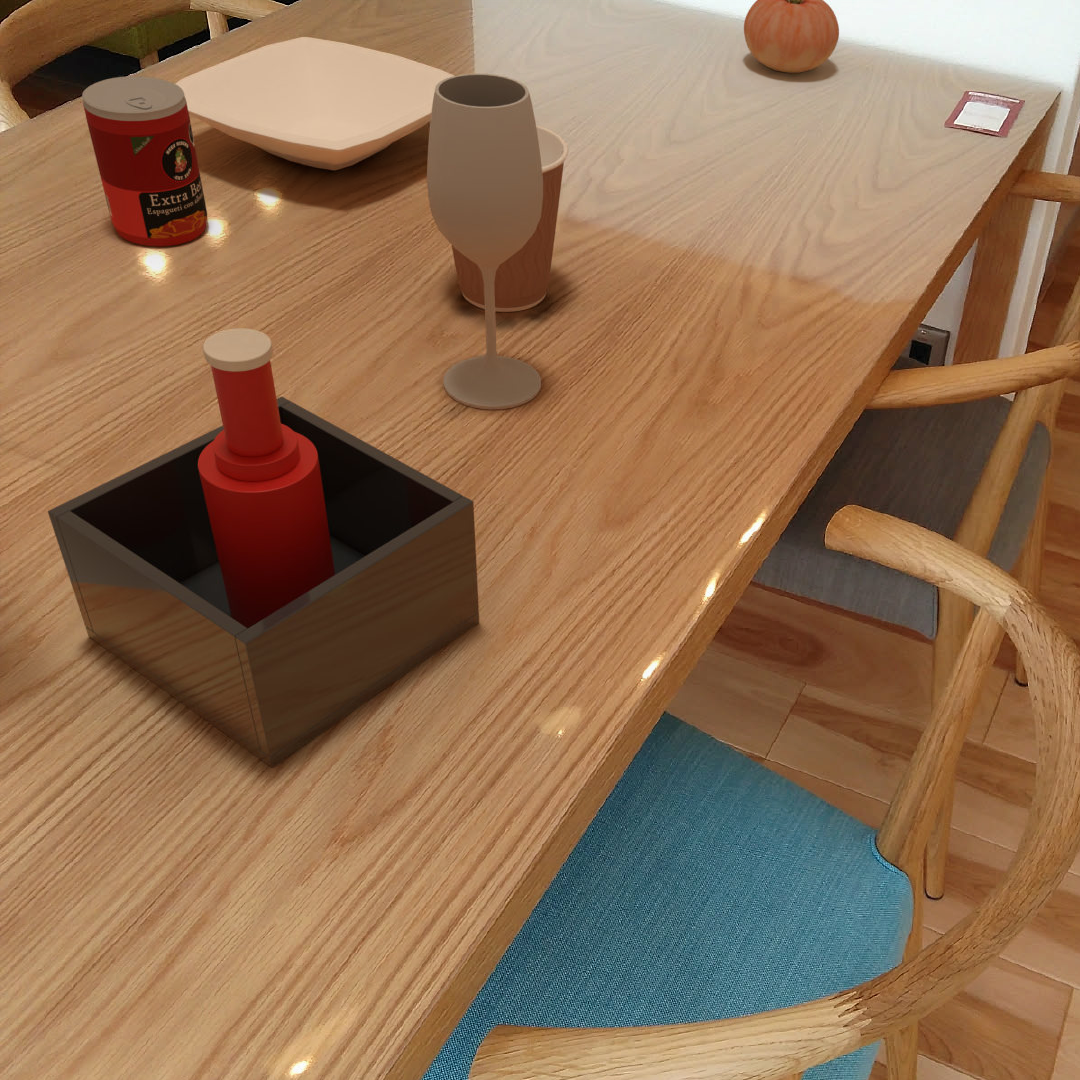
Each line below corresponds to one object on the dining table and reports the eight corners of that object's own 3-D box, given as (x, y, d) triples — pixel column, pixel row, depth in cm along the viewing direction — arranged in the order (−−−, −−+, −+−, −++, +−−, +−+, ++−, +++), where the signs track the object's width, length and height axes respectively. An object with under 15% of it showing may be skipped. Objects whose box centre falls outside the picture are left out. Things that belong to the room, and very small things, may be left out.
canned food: (160, 257, 107) (130, 120, 99) (92, 229, 110) (58, 93, 102) (230, 226, 112) (206, 93, 104) (163, 199, 114) (135, 68, 107)
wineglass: (565, 384, 98) (567, 93, 83) (491, 423, 93) (480, 123, 79) (493, 346, 101) (483, 60, 86) (419, 382, 96) (395, 86, 82)
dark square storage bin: (88, 636, 74) (46, 510, 68) (301, 515, 84) (281, 395, 78) (272, 768, 68) (245, 643, 62) (479, 622, 78) (473, 501, 72)
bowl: (494, 140, 129) (492, 80, 125) (345, 224, 114) (338, 158, 110) (312, 87, 136) (304, 28, 132) (147, 159, 120) (134, 95, 116)
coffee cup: (587, 281, 110) (590, 137, 101) (531, 335, 102) (529, 184, 94) (478, 252, 112) (473, 108, 104) (416, 302, 105) (404, 153, 96)
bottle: (211, 620, 75) (145, 344, 63) (292, 572, 79) (245, 301, 66) (281, 668, 73) (227, 390, 60) (362, 615, 76) (327, 343, 64)
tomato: (741, 46, 155) (748, -28, 149) (831, 55, 155) (842, -18, 149) (739, 79, 147) (747, 2, 141) (835, 88, 147) (846, 11, 142)
